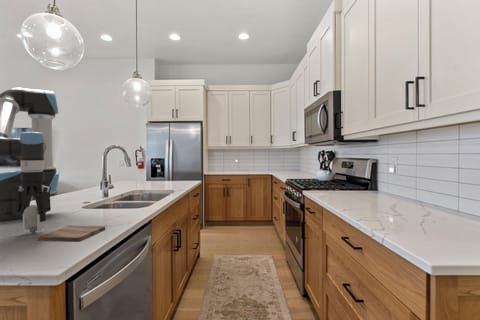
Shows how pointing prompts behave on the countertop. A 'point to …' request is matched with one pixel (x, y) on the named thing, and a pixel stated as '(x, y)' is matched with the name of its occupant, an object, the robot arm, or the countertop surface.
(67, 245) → the countertop surface
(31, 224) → the lightbulb
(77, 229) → the plate
